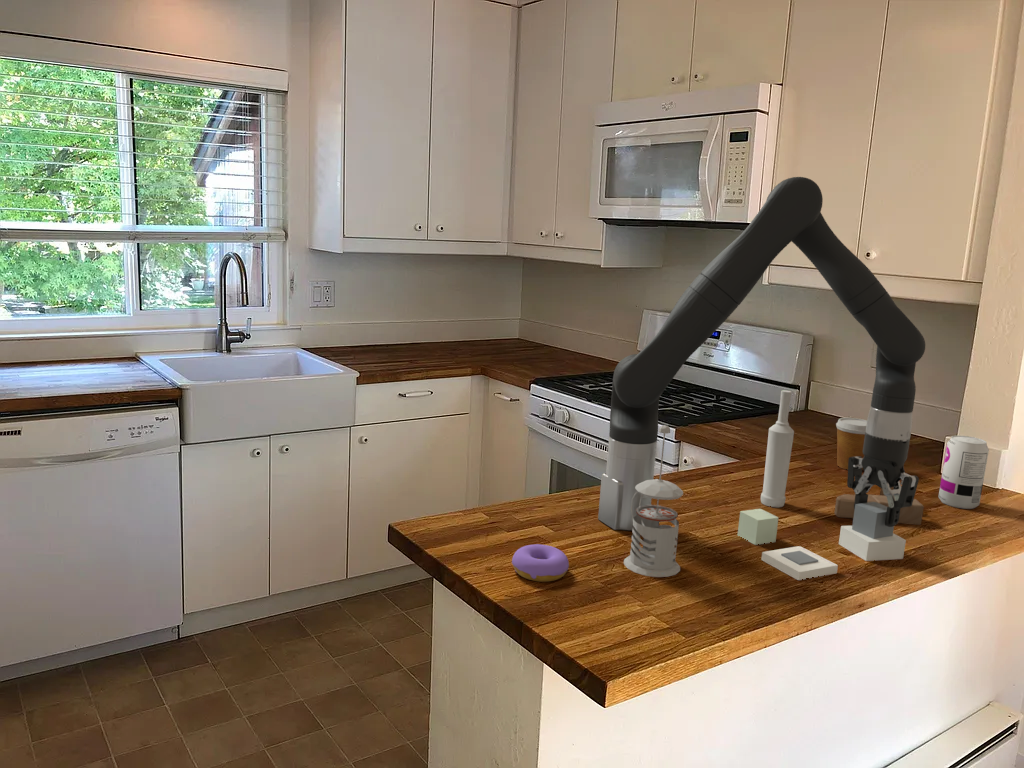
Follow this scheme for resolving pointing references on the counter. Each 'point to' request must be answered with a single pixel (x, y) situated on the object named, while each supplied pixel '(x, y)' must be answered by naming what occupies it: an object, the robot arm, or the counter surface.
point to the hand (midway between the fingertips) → (874, 519)
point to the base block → (872, 545)
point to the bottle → (778, 456)
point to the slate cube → (871, 520)
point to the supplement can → (963, 472)
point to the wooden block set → (906, 516)
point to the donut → (540, 563)
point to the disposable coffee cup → (849, 439)
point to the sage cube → (757, 526)
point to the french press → (655, 528)
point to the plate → (799, 562)
